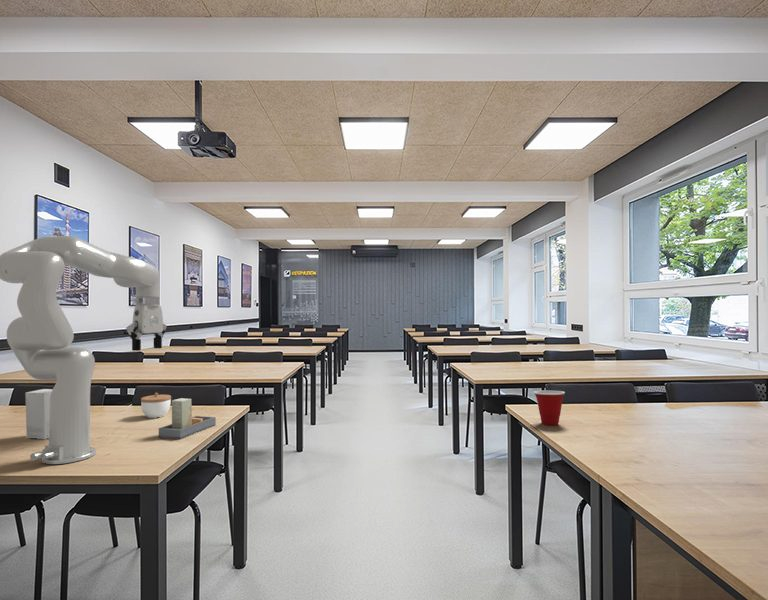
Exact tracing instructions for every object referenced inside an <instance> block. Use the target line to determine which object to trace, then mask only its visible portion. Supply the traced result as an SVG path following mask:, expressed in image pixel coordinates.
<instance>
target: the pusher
mask: <svg viewBox="0 0 768 600" xmlns="http://www.w3.org/2000/svg"><path fill="white" fill-rule="evenodd" d="M201 421H203V419H202V418H192V425H193V424H196V423H199V422H201Z"/></svg>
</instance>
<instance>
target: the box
mask: <svg viewBox="0 0 768 600" xmlns="http://www.w3.org/2000/svg"><path fill="white" fill-rule="evenodd" d="M192 406H193V405H192V398H183V397H181V398H177V399H171V424H172V429H182V428H185V427H188V426H190V425H192V417H193V416H192V413H193V412H192V411H193V410H192Z"/></svg>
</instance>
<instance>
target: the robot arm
mask: <svg viewBox="0 0 768 600" xmlns="http://www.w3.org/2000/svg"><path fill="white" fill-rule="evenodd" d="M65 266H67V267H71V268H74V269H76V270H79V271H80V272H81V271H82V272H84V273H88V274H90V275H93V276H96V277H99V278H100V277H101V278H108V279H113V281H114V283H115V284H116V285H117V286H120V287H122V288H135V299H134V303H135V306H134V309H133V315H132V323H131V324H128V326H126V328H125V329H126V332H127V334H128V336H129V337H130V340H131V351H134V352H135V351H137V352H139V351H141V350H142V349H141V348H142V345H141V344H142V341H141V336H142V335H143V334H153V336H154V337H153V349H162V345H163V337H164V335H165V333H166V329H167V325H166V324H165V323H164V318H163V310H162V306H160V278H161V277H160V271H159V269H157V268H155V266H153V265H152V264H150V263H148V262H147V261H144V260H141V259H139V258H135V257H131V256H129V255H128V256H127V255H124V254H120V253H116V252H112V251H107V250H105V249H103V248H101V247H99V246H96V245H94V244H93V243H90V242H89V241H88V242H87V241H86V240H83V239H81V238H78V237H76V236H71V235H59V236H58V235H57V236H56V235H55V236H54V235H53V236H42V237H40V238H39V237H38V238H36V239H34V240H31V241H28V242H26V243H24V244H21V245H19V246H17V247H14V248H11V249H10V250H8V251H5V252H3V253H2V254H0V280H2V281H3V282H6V283H9V284H21V285H22V286H21V288H20V290H19V292H18V295H17V299H16V304H17V305H16V306H17V308H18V311H19V313H20V315H21V316H20V317H17V318H14V320H12V321H10V323H9V325H8V327H7V328H6V340H7V344H8V345H9V347H10V349H11V351H12V352H13V354H14V356H15V357H16V358H17V360H18V362H19V364H21V366H22V367H23V369H24V371H25V372H26V373H27V374H28V375H29V376H30V377H31V378H33V379H35V380H40V381H41V380H43V381H56V382H55V384H54V386H53V388H52V389H53V390H52V392H51V395H50V403H49V405H50V410H49V438H48V444H47V445H44V448H43V449H42V450H41V451H37V452H33V453H31V454H30V456H29V457H30V460H31V461H32V462H34V461H37V460H40V459H41V463H43V464H45V463H46V465H61V464H63V465H64V464H70V463H75V462H80V461H83V460H86V459H89V458H91V457H93V456H94V455H95V454H96V453H97V449H96V448H95V447H93V446H90V443H91V442H90V439H91V438H90V437H91V436H90V435H91V428H90V427H91V388H92V387H91V386H92V385H91V384H92V380H93V379H92V378H93V374H94V370H95V365H96V363H95V361H96V359H95V356H94V355H93V353H92V352H91V351H89V350H88V349H86V348H83V347H78V346H70V345H71V344H72V343H73V341H74V339H75V338H74V337H75V336H74V335H75V334H74V331H73V328H72V326H71V324H70V322H69V320H68V318H67V316H66V315H65V313H64V310H63V309H62V307H61V305H60V303H59V301H58V298H57V297H58V296H57V289H58V287H59V284H60V281H61V279H62V277H63V275H64V274H65V273H64V272H65Z"/></svg>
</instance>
